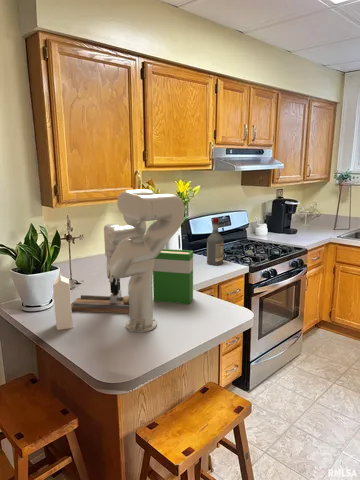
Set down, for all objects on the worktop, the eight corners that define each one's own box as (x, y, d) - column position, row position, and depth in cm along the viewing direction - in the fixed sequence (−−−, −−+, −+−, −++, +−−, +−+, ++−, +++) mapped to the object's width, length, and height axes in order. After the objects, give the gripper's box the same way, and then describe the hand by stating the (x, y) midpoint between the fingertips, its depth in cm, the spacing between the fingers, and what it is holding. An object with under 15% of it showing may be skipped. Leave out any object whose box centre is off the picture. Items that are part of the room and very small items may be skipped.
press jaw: (117, 306, 159) (115, 280, 156) (110, 306, 159) (109, 280, 156) (121, 300, 166) (120, 275, 163) (115, 300, 166) (114, 275, 163)
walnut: (130, 306, 160) (129, 297, 159) (121, 305, 160) (121, 297, 159) (132, 302, 163) (132, 294, 163) (124, 302, 164) (123, 294, 163)
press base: (138, 313, 156) (137, 296, 155) (68, 310, 160) (67, 293, 159) (143, 304, 166) (143, 288, 165) (77, 301, 170) (76, 285, 169)
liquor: (205, 264, 231) (205, 218, 224) (212, 260, 238) (212, 216, 232) (217, 266, 226) (218, 219, 219) (224, 262, 233) (225, 217, 227)
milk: (56, 330, 142) (51, 277, 137) (57, 323, 147) (52, 273, 142) (72, 328, 143) (68, 276, 138) (72, 321, 149) (68, 271, 144)
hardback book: (153, 300, 171) (152, 252, 166) (158, 295, 178) (157, 248, 173) (189, 304, 167) (189, 254, 161) (193, 298, 174) (193, 250, 168)
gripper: (116, 257, 149) (118, 298, 153) (126, 247, 164) (128, 285, 168) (99, 256, 150) (101, 297, 154) (111, 247, 165) (113, 285, 169)
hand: (115, 291), depth 161 cm, fingers closed on press jaw, 2 cm apart
